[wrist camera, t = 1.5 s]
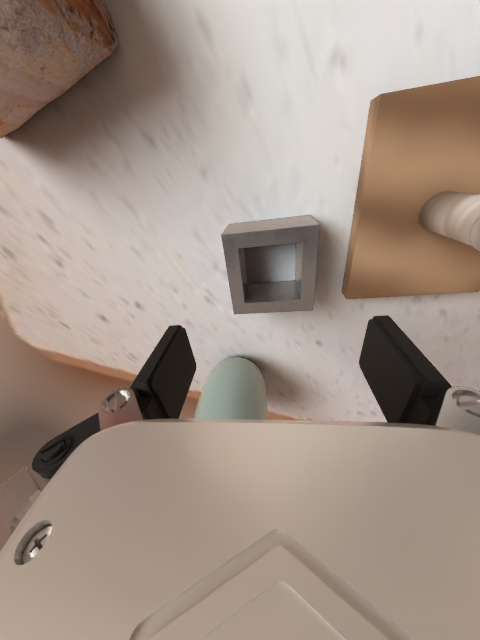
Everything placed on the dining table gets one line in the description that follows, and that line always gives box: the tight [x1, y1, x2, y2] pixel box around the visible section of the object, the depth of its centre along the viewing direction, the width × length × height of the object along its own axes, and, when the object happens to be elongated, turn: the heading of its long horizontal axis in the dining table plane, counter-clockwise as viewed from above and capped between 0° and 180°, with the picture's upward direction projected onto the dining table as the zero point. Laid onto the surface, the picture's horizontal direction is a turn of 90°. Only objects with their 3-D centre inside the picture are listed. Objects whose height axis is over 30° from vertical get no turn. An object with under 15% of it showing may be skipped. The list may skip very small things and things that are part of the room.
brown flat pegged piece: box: [342, 76, 480, 299], centre depth 14 cm, size 14×11×8 cm
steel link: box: [221, 215, 320, 314], centre depth 19 cm, size 7×7×4 cm
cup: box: [193, 357, 268, 420], centre depth 26 cm, size 8×8×10 cm
